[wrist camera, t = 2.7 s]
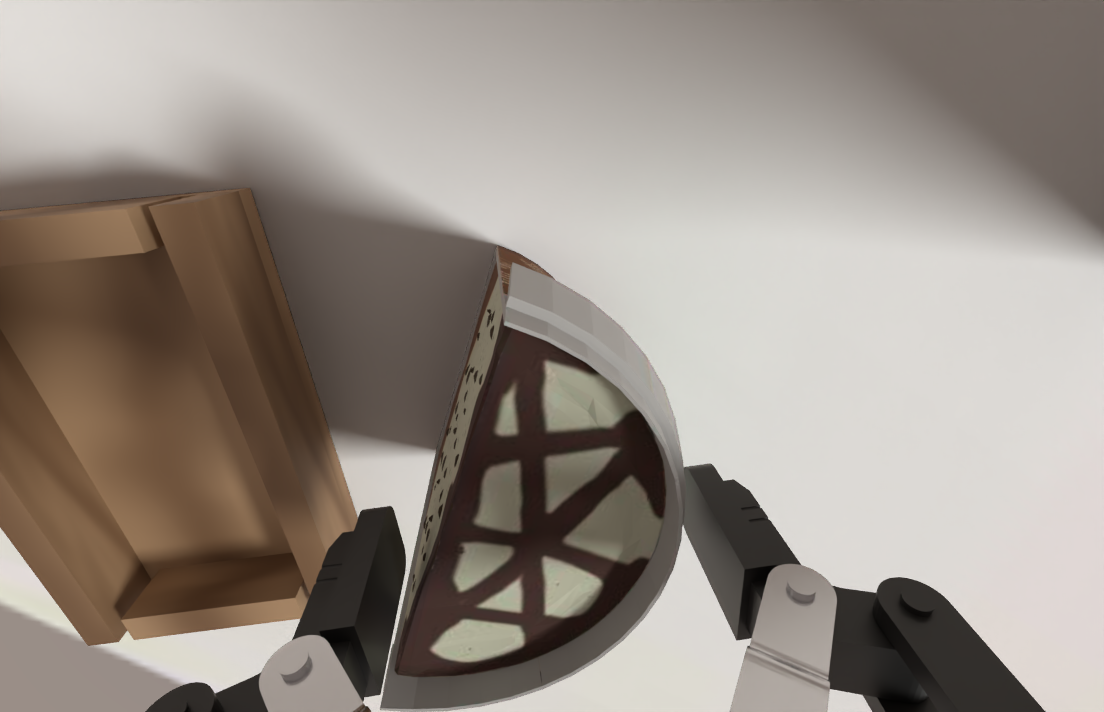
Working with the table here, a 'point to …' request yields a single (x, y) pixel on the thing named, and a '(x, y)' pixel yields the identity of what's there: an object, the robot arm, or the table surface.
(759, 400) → the table surface
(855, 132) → the table surface
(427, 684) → the food container
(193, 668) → the table surface
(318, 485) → the holder
